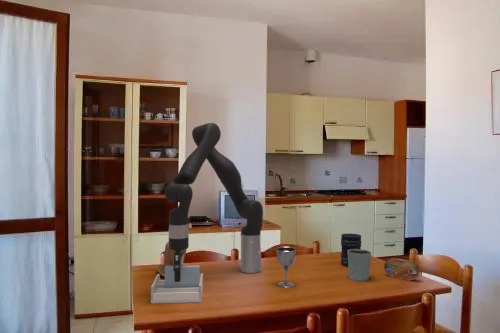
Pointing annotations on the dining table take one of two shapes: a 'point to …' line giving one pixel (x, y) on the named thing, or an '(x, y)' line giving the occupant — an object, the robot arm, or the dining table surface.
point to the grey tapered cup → (359, 264)
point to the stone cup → (167, 259)
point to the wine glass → (286, 262)
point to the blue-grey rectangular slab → (183, 277)
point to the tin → (401, 269)
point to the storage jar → (349, 246)
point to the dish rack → (175, 292)
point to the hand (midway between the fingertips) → (178, 278)
